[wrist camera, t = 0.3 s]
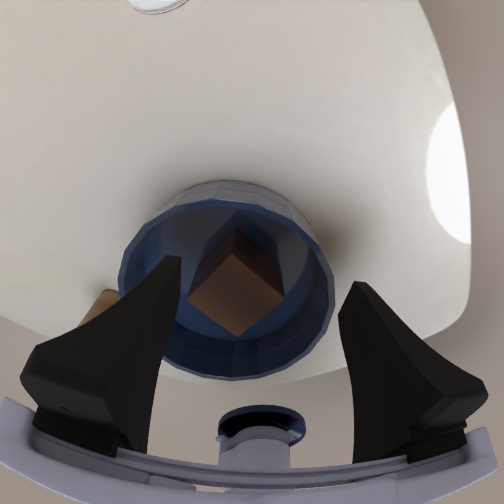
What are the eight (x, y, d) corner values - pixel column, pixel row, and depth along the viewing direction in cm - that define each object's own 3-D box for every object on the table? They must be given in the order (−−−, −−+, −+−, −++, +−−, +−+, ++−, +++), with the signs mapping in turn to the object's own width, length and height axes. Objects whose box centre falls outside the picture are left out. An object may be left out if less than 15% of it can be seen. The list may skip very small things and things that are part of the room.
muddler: (118, 318, 23) (64, 420, 13) (96, 300, 22) (33, 398, 12) (130, 302, 22) (73, 411, 12) (107, 284, 22) (39, 386, 12)
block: (240, 300, 21) (237, 337, 18) (196, 266, 20) (185, 300, 16) (280, 265, 20) (285, 298, 16) (236, 226, 19) (231, 254, 15)
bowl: (236, 361, 25) (233, 401, 21) (113, 271, 21) (87, 305, 17) (355, 267, 21) (375, 303, 17) (221, 138, 17) (210, 144, 13)
